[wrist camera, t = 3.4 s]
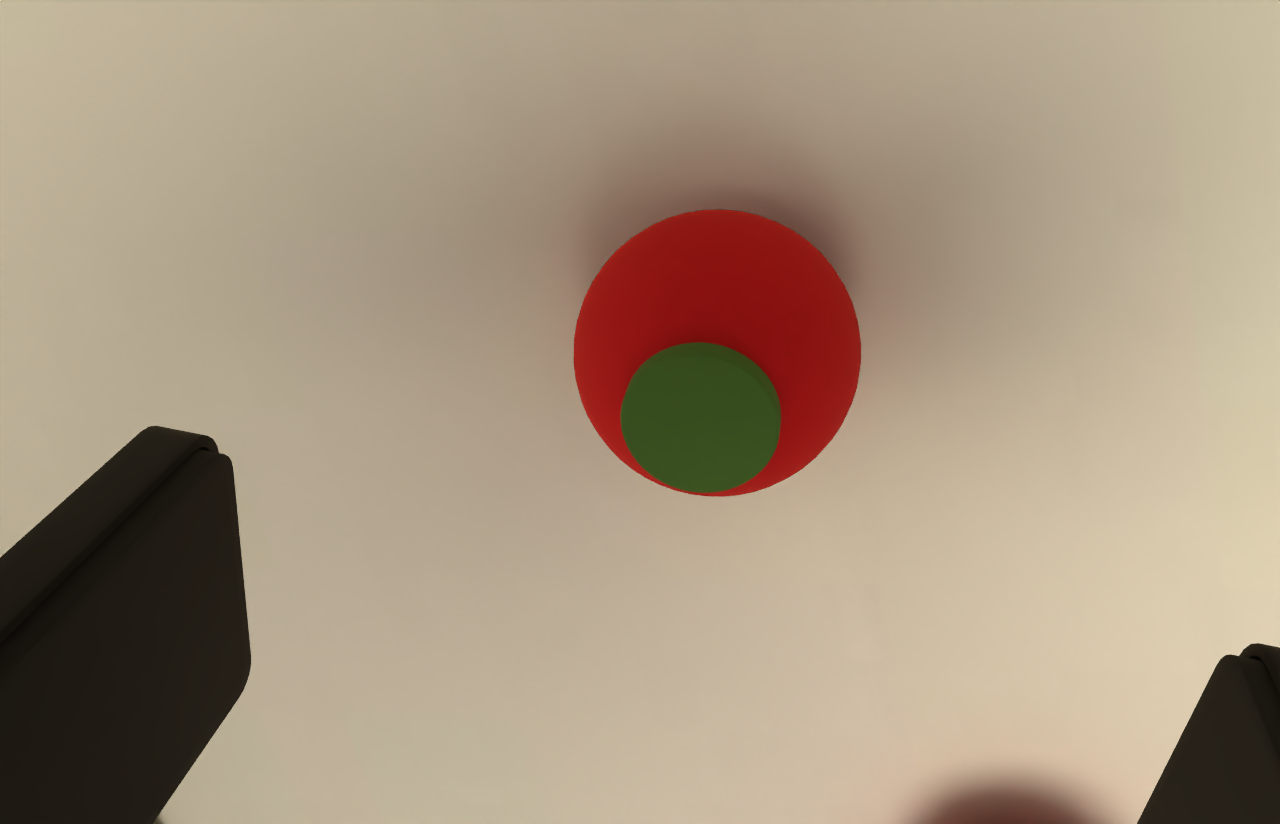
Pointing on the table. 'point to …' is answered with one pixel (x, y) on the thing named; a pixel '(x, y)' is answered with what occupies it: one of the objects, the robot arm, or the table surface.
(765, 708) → the table surface
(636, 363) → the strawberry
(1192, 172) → the table surface
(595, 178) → the table surface
